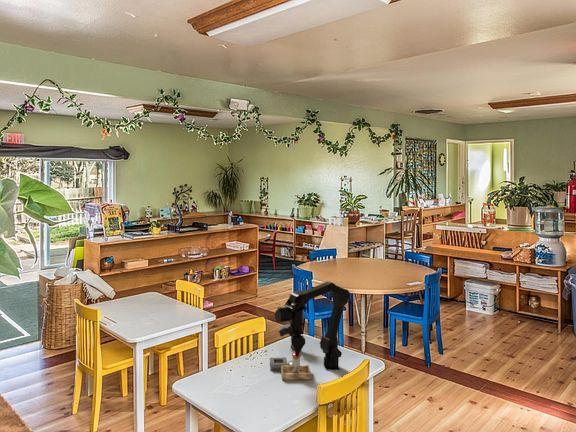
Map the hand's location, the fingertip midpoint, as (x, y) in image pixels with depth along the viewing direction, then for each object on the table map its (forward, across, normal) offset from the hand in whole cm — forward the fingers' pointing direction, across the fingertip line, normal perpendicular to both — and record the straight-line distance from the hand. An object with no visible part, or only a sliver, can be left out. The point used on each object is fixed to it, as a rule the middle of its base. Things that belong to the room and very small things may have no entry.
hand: (295, 352), depth 205 cm
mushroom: (+11, -31, +3) cm, 33 cm away
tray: (+11, 0, 0) cm, 11 cm away
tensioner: (+11, -10, -4) cm, 16 cm away
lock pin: (+11, 0, 0) cm, 11 cm away
